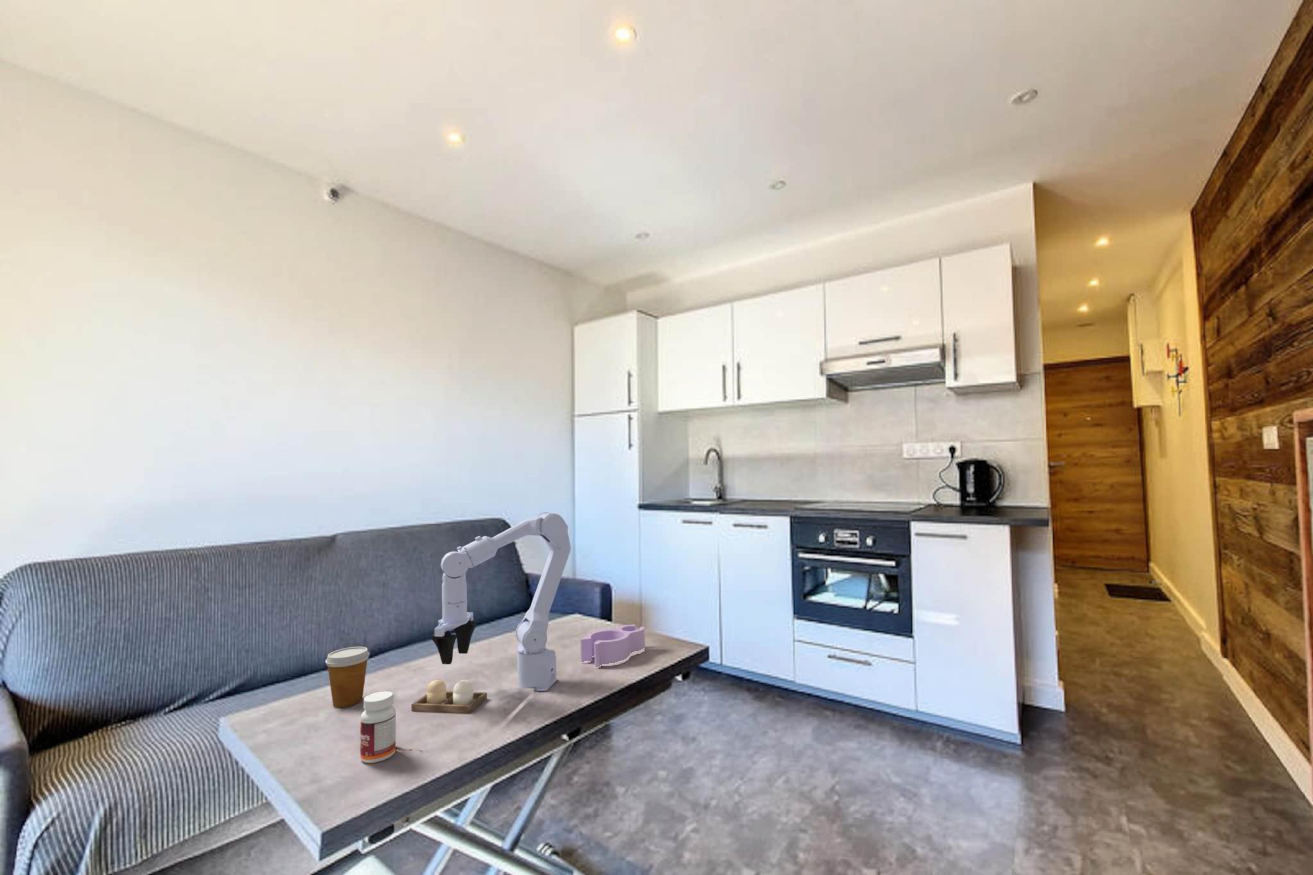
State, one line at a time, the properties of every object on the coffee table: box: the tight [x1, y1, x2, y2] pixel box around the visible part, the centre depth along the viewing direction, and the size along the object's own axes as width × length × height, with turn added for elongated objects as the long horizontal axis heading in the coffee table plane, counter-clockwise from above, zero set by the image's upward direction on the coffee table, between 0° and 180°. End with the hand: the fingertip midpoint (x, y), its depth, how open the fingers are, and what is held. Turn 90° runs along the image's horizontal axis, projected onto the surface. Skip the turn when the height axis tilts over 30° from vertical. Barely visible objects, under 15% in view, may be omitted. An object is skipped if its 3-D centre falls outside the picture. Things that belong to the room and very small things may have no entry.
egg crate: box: [410, 690, 488, 715], centre depth 127 cm, size 14×8×2 cm, turn 80°
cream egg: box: [452, 679, 474, 705], centre depth 127 cm, size 4×4×6 cm
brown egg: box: [426, 679, 447, 704], centre depth 128 cm, size 4×4×6 cm
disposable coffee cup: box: [325, 646, 371, 708], centre depth 133 cm, size 10×10×12 cm
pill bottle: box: [359, 690, 397, 764], centre depth 106 cm, size 6×6×11 cm
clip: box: [579, 624, 646, 668], centre depth 159 cm, size 20×12×7 cm, turn 135°
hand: (455, 658), depth 132 cm, fingers open, 7 cm apart
